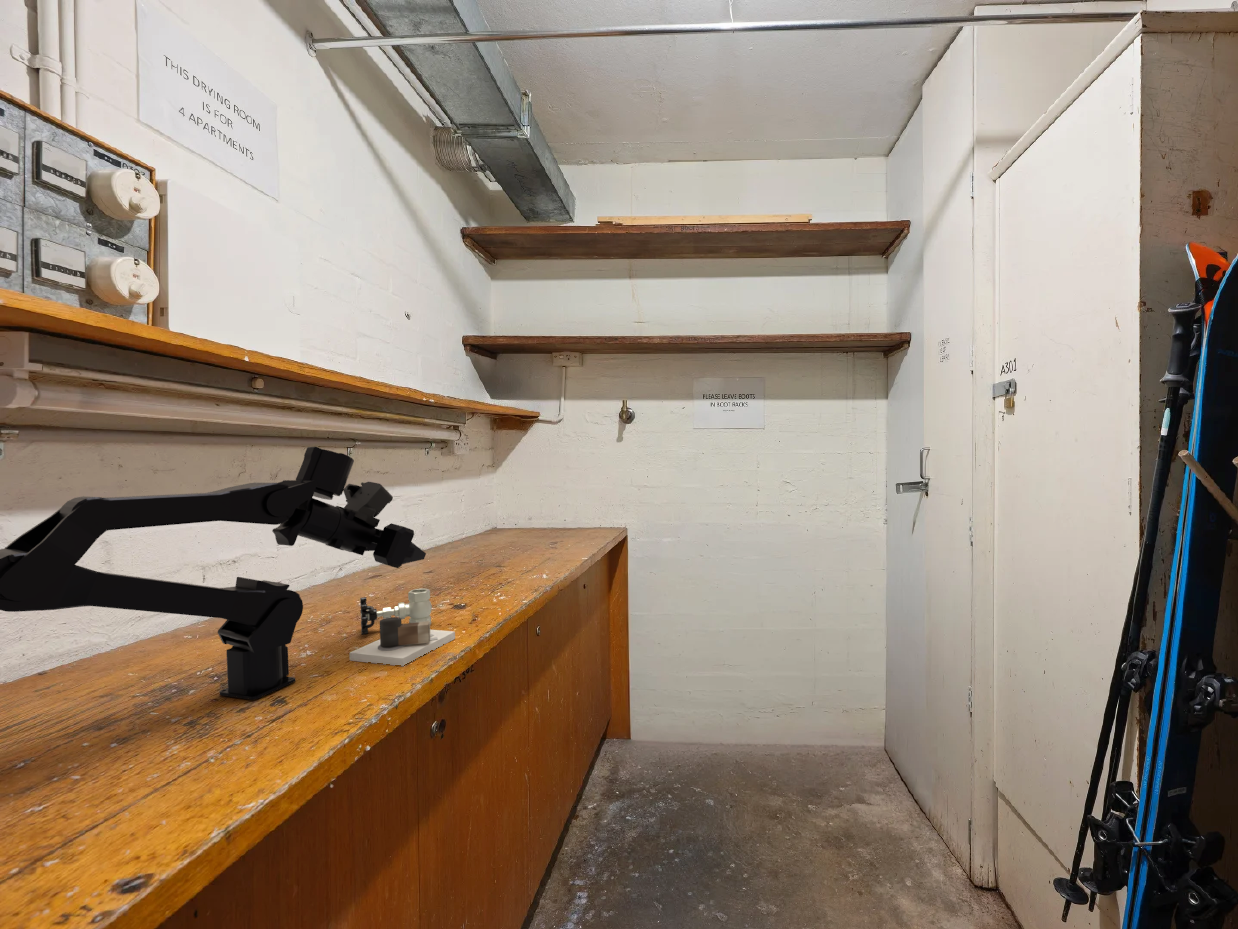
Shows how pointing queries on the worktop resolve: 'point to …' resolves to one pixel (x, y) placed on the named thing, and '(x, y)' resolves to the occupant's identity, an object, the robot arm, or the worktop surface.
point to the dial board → (400, 650)
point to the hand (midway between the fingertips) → (407, 551)
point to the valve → (399, 609)
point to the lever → (403, 632)
